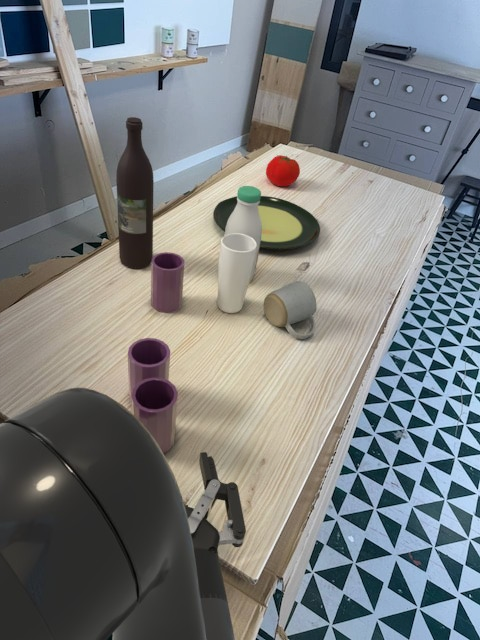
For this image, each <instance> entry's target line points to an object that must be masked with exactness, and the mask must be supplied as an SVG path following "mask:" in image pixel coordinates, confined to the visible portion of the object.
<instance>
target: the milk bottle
mask: <svg viewBox="0 0 480 640" xmlns="http://www.w3.org/2000/svg"><path fill="white" fill-rule="evenodd" d="M236 196H238V197H237V201H238V202H237V205H236V207H235V209H234V211H233V212H232V214H231V215H230V217H229V219H228V221H227V224H226V229H225V232H224V235H223V237H224V236H225V235H227V234H232V233H239V234H244V235H247V236H250V237H251V238H253V239H254V240H255V241H256V243H257V249H256V256H255V262H254V266H253V270H252V273H251V277H250V280H249V282H251V281H252V280H253V279H254V278H255V274H256V269H257V264H258V259H259V254H260V253H259V252H260V248H261V247H260V242H261V235H262V223H261V219H260V216H259V211H258V204H259V203H260V198H261V196H262V191H261V190H260V189H259V188H257V187H255V186H251V185H242V186H240V187H239V188H238V189H237V194H236Z"/></svg>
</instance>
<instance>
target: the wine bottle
mask: <svg viewBox="0 0 480 640" xmlns="http://www.w3.org/2000/svg"><path fill="white" fill-rule="evenodd" d="M125 128H126V133H127V134H126V135H127V139H126V146H125V149H124V150H123V152H122V155H121V156H120V158H119V160H118V163H117V167H116V175H115V177H116V179H115V180H116V181H115V182H116V204H117V205H116V206H117V226H118V227H117V228H118V229H117V230H118V249H119V250H118V251H119V253H118V254H119V261H120V263H121V264H122V265H123V266H125V267H126V268H129V269H136V270H137V269H144V268H147V267H149V266H150V265H151V261H152V258H153V257H154V183H155V181H154V170H153V166H152V164H151V161H150V159H149V157H148V155H147V153H146V151H145V149H144V146H143V140H142V131H143V121H142V119H141V118H139V117H136V116H135V117H133V116H131V117H127V118H126V121H125Z"/></svg>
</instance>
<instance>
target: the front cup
mask: <svg viewBox="0 0 480 640" xmlns="http://www.w3.org/2000/svg"><path fill="white" fill-rule="evenodd" d="M178 396H179V392H178V390H177V387H176V385H175V384H174V383H172V382H171V381H170V380H169V381H168V380H166V379H163V378H155V377H152V378H148V379H144V380H142V381H141V382H139V383H138V384H137V385H136V386H135V387H134V388H133V391H132V396H131V400H132V404H131V413H132V414H133V415H134V416H135V417H136V418H137V419H138V420H139V421H140V422H141V423H142V424H143V425H144V426H145V428H146V429H147V430H148V431H149V433H150V434H151V435H152V437H153V438H154V439H155V441H156V442H157V443H158V445H159V447H160V449H161V450H162V452H163V454H164V455H165V454H166V453H168V452H169V451H170V450H171V449H172V448H173V446H174V443H175V440H176V439H175V438H176V437H175V436H176V425H177V410H178Z"/></svg>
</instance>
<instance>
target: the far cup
mask: <svg viewBox="0 0 480 640" xmlns="http://www.w3.org/2000/svg"><path fill="white" fill-rule="evenodd" d="M185 263H186V262H185V259H184V257H183V256H181V255H180V254H177V253H175V252H167V251H165V252H159V253H157V254H155V255H153V258H152V261H151V264H150V265H151V266H150V305H151V307H152V308H153V309H154V310H155V311H157V312H160V313H165V314H170V313H175V312H177V311H178V310H180V309H181V307H182V305H183V291H184V290H183V289H184V276H185Z"/></svg>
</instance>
